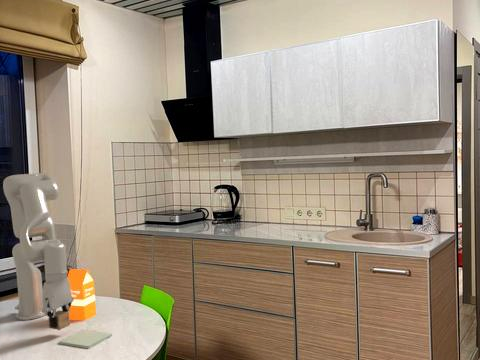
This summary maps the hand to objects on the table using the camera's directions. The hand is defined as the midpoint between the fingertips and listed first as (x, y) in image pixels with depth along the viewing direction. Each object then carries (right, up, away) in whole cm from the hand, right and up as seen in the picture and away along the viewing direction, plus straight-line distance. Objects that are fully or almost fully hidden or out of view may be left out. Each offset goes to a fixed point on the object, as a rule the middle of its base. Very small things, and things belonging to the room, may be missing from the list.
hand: (59, 323), depth 181 cm
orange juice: (+2, -3, +20) cm, 21 cm away
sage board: (+12, -4, -6) cm, 13 cm away
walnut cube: (0, -1, 0) cm, 1 cm away
